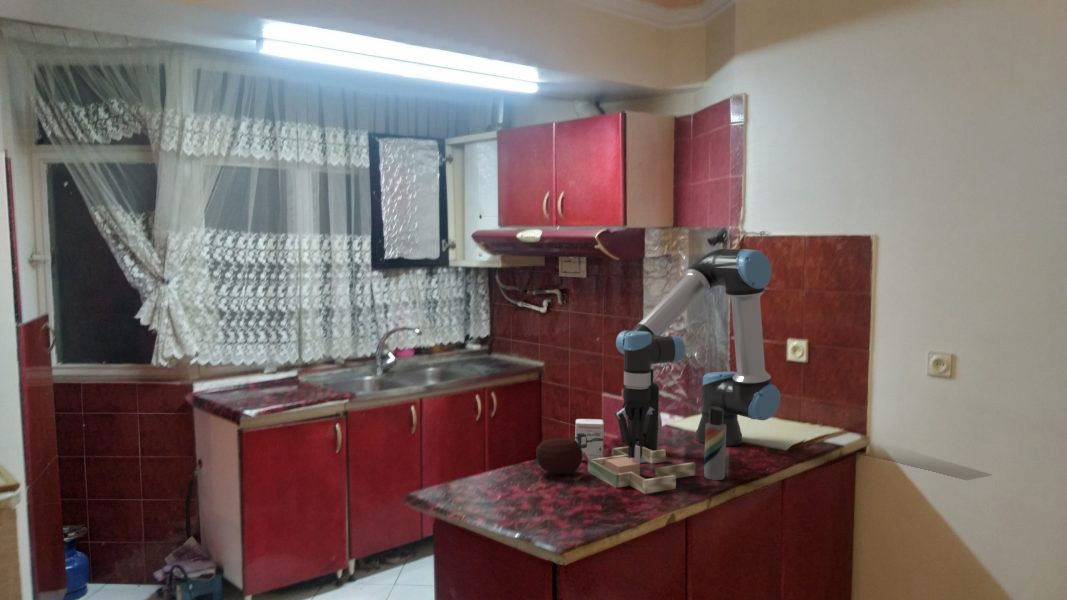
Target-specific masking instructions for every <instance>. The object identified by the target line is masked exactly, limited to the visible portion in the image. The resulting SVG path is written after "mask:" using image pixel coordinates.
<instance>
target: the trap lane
mask: <svg viewBox="0 0 1067 600" xmlns="http://www.w3.org/2000/svg"><path fill="white" fill-rule="evenodd" d="M666 453H667V452H666V449H657V450H655V451H652V450H650V449H648V448H645V447H642V457H640V465H642V464H647V463H650V464H658V463H664V462H666V459H667V457H666ZM622 457H627V458H629V459H630V457H629V456H628V445H626V446H620V447H612V448H611V456H606V457H605V456H603V458H597V459H590V460H588V461H587V472H588V473H589V474H590V475H592V476H594V477H596V478H597V479H600V480H601V481H603V482H605V483H606V484H608V485H610V486H612V487H613V488H614V489H617V488H618V489H619V488H623V487H632V488H634V489H635V490H637V491H639V492H641V493H643V494H644V495H647V494H652V493H653V494H654V493H657V492H665V491H669V490H674V489H677V488H676V487H677V479H680V478H685V477H686V478H687V477H692V476H693V477H694V476H696V463H695V462H694V461H693V462H686V463H680V464H673V465H666V466H660V467H655V471H654V475H655V476H654V477H652V478H651V477H650V478H644V477H643V476H641V475H640V476H639V475H637V474H635V473H633V472H625V473H618V474H617V473H615V472H613V471H611V470H610V469H608V468H606V467H605V460H607V459H615V458H622Z"/></svg>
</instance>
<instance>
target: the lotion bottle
mask: <svg viewBox="0 0 1067 600" xmlns="http://www.w3.org/2000/svg"><path fill="white" fill-rule="evenodd" d="M726 450H727V446H726V425H725V424H723V408H720V407H715V406H712V407H711V409H710V410H709V423H706V428H705V443H704V460H703V461H704V462H703V463H704V464H703V475H704V478H706V479H708V480H713V481H720V480H724V479H725V474H726V453H727V452H726Z"/></svg>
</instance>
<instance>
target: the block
mask: <svg viewBox="0 0 1067 600" xmlns="http://www.w3.org/2000/svg"><path fill="white" fill-rule="evenodd" d="M605 467H606V468H608V469H610V470H611V471H613V472H615V473H617V474H618V473H625V472H633V473H635V474H637V475H639V476H641V464H639V463H637V462H635V461H633V460H631V459H629V458H627V457H622V458H615V459H607V460H605Z"/></svg>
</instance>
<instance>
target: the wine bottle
mask: <svg viewBox="0 0 1067 600" xmlns="http://www.w3.org/2000/svg"><path fill="white" fill-rule="evenodd" d="M654 369H655V364H651V385H650V386H649V388H650V400H649V403H650V407H651V408H653V409H655V410H657V413H656V415H655V417H654V420H653V424H652V429H651V433H650V438H649V442H648V443H645V446H644V447H645V448H648V449H650V450H652V451H655V450H658V441H659V440H658V439H659V436H658V435H659V434H658V433H659V403H660V402H659V401H660V400H659V399H660V398H659V397H660V387H659V384H657V383H656V382H654ZM646 414H647V413H646ZM645 417H646V415H645Z"/></svg>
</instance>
